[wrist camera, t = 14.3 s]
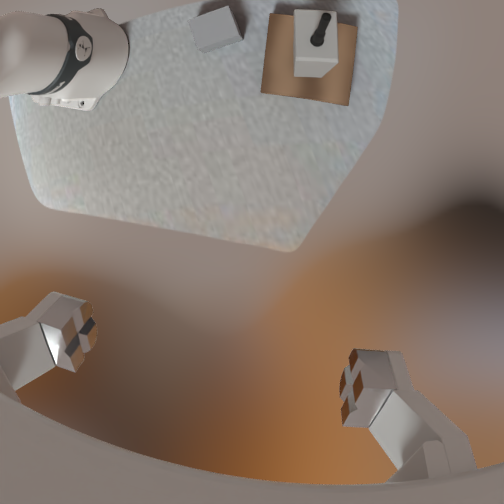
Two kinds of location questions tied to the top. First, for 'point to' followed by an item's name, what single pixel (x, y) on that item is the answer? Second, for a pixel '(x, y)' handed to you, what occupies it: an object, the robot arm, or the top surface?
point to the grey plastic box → (215, 29)
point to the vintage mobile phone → (315, 42)
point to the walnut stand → (320, 89)
